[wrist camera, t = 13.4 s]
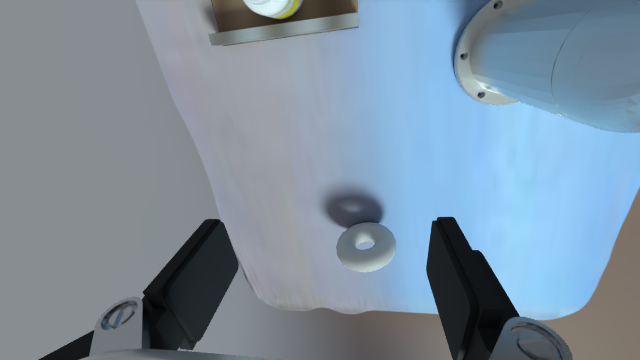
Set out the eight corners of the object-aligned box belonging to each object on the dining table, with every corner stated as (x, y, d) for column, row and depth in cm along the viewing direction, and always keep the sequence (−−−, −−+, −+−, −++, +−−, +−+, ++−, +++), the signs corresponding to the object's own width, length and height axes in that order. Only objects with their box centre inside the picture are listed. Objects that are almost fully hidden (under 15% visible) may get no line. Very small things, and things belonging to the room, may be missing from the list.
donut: (340, 237, 48) (337, 280, 39) (336, 223, 46) (331, 264, 38) (393, 229, 45) (402, 273, 36) (390, 214, 44) (399, 256, 35)
